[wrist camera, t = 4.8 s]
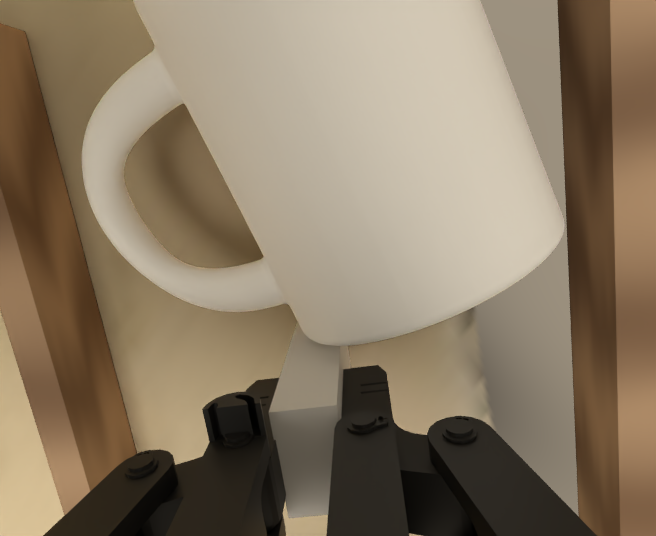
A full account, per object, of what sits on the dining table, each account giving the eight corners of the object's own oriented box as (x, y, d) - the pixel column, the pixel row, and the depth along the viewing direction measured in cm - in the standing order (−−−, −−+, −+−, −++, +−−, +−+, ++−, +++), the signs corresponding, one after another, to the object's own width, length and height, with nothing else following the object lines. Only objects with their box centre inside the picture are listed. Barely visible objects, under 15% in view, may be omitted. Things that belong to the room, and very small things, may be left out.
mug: (401, -78, 16) (444, -272, 9) (514, 202, 18) (630, 245, 11) (91, 93, 18) (-102, 58, 10) (224, 333, 20) (143, 451, 12)
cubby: (-8, 37, 18) (-92, 12, 15) (593, -72, 16) (657, -128, 13) (148, 596, 23) (113, 673, 20) (609, 558, 22) (657, 636, 18)
